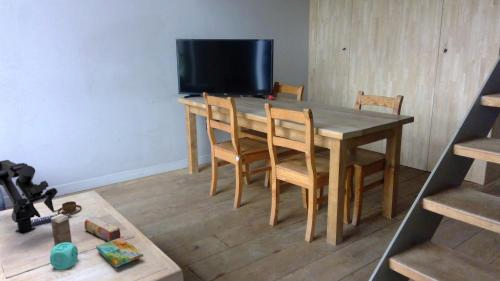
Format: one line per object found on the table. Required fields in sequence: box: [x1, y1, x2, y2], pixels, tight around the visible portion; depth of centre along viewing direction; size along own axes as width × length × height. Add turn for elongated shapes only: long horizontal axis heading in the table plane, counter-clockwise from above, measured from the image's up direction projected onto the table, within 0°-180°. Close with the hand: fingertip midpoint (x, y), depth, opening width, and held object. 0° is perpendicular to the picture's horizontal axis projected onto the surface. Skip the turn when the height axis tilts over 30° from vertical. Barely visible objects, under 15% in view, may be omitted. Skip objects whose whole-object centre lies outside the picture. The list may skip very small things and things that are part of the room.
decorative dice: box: [49, 242, 79, 271], centre depth 162 cm, size 8×8×8 cm
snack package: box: [84, 215, 121, 242], centre depth 186 cm, size 21×7×7 cm, turn 52°
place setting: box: [53, 200, 83, 218], centre depth 210 cm, size 18×20×6 cm
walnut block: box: [50, 214, 73, 246], centre depth 176 cm, size 5×5×14 cm
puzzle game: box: [95, 236, 144, 268], centre depth 167 cm, size 12×5×20 cm
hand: (46, 214), depth 178 cm, fingers open, 6 cm apart
